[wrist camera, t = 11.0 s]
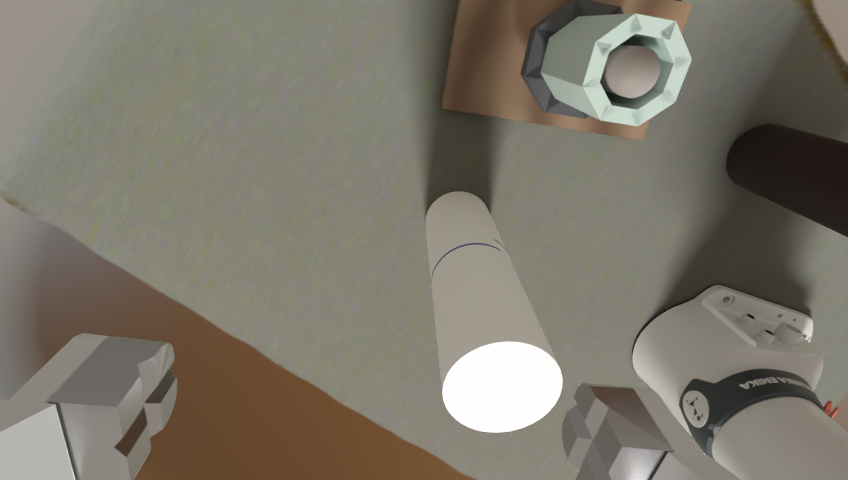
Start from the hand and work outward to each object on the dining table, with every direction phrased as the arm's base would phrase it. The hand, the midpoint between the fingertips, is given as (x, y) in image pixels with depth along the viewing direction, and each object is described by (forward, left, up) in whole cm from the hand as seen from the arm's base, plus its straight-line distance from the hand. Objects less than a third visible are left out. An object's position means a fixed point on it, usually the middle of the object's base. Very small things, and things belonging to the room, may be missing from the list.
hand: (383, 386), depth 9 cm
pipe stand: (-14, -6, -38) cm, 41 cm away
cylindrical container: (-8, +12, -38) cm, 41 cm away
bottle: (-38, 0, -38) cm, 54 cm away
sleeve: (-14, -6, -31) cm, 35 cm away
